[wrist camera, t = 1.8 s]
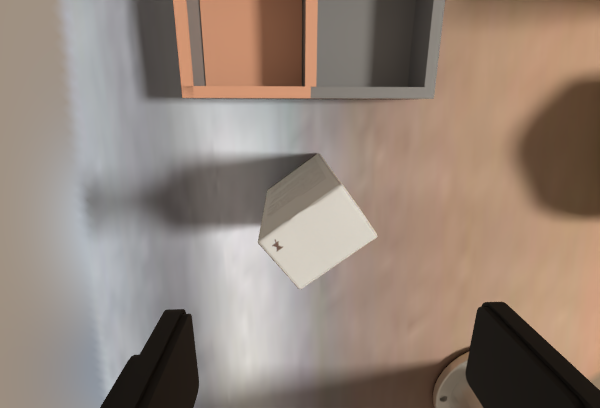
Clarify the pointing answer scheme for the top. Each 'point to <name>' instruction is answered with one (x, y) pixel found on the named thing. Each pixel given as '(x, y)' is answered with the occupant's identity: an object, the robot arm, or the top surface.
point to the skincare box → (311, 222)
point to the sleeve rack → (308, 48)
